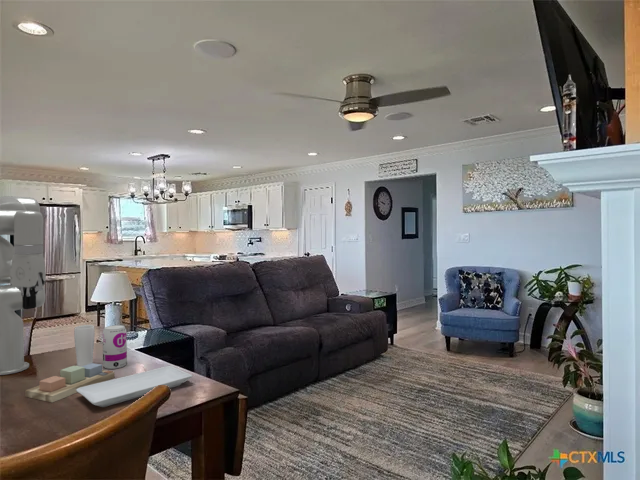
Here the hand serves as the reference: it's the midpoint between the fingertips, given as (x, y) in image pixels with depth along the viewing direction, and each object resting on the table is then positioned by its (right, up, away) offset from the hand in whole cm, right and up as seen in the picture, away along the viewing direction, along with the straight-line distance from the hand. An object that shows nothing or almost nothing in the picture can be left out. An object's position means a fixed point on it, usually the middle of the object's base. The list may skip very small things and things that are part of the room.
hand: (29, 308), depth 133 cm
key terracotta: (+7, -27, +1) cm, 28 cm away
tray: (+32, -28, +4) cm, 43 cm away
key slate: (+12, -26, +14) cm, 32 cm away
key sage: (+10, -25, +7) cm, 28 cm away
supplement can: (+13, -27, +28) cm, 41 cm away
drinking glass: (+2, -27, +28) cm, 39 cm away
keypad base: (+10, -27, +7) cm, 30 cm away
